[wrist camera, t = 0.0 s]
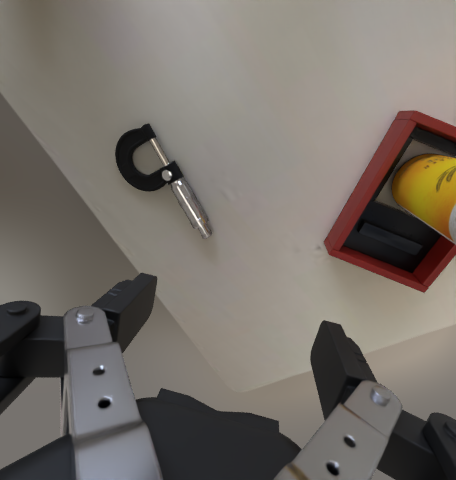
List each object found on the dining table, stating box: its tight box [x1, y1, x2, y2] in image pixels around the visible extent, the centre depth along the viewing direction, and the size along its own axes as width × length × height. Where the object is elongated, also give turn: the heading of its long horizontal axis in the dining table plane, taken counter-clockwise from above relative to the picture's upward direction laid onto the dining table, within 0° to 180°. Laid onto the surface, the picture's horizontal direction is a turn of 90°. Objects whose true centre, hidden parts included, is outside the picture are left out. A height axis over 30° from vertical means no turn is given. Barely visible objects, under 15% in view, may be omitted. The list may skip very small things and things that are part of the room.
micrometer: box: [115, 124, 212, 239], centre depth 34 cm, size 15×7×2 cm, turn 28°
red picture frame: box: [324, 111, 456, 293], centre depth 30 cm, size 16×12×4 cm
